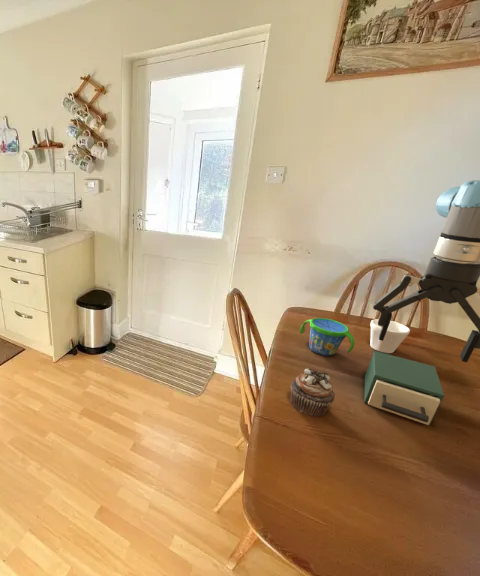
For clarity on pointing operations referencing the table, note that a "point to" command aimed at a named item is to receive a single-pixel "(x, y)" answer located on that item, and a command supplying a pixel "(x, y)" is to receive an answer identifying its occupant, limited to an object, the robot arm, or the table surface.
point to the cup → (387, 336)
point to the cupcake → (312, 392)
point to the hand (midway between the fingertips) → (419, 348)
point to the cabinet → (402, 375)
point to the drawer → (404, 401)
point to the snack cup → (327, 335)
